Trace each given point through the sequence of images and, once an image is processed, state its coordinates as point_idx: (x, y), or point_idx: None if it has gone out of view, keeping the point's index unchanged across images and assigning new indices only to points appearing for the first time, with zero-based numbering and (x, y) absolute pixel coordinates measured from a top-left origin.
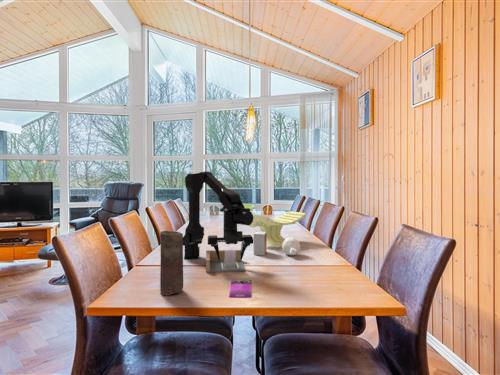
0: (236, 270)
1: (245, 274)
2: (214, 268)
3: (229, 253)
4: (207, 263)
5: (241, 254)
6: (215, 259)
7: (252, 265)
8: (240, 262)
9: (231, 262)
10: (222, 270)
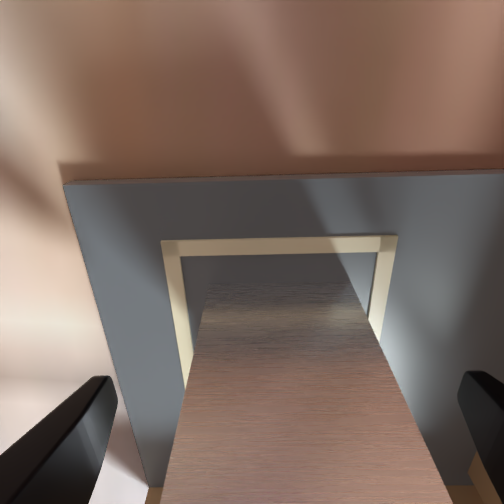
0: (198, 181)
1: (51, 10)
2: (487, 278)
3: (325, 482)
4: None
5: (42, 457)
6: None
7: (25, 372)
8: (156, 437)
9: (265, 329)
10: (403, 185)
